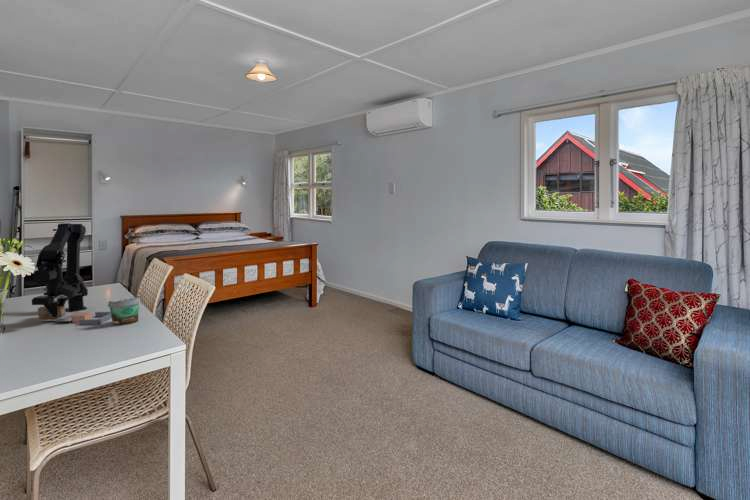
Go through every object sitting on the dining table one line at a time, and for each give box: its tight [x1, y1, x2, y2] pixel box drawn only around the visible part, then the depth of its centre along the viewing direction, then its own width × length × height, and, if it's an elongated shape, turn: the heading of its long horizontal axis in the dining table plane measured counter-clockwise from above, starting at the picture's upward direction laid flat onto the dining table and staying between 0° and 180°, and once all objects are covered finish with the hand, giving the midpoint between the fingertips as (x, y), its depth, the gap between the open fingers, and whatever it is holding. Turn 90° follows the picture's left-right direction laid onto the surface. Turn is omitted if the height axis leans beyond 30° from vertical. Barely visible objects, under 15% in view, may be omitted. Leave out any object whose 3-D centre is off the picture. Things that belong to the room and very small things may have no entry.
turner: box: [37, 305, 78, 322], centre depth 172 cm, size 14×8×5 cm, turn 93°
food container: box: [107, 295, 141, 326], centre depth 170 cm, size 12×6×10 cm, turn 148°
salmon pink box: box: [71, 311, 93, 324], centre depth 173 cm, size 5×5×3 cm
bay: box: [78, 311, 112, 326], centre depth 174 cm, size 8×12×2 cm, turn 4°
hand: (57, 316), depth 172 cm, fingers closed on turner, 2 cm apart
